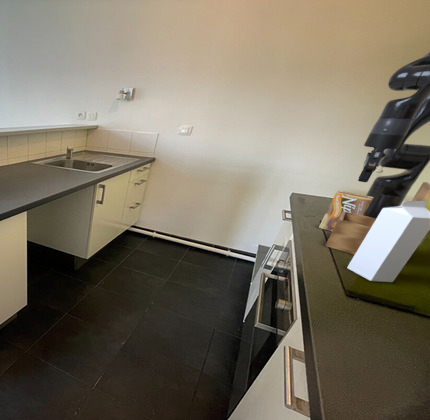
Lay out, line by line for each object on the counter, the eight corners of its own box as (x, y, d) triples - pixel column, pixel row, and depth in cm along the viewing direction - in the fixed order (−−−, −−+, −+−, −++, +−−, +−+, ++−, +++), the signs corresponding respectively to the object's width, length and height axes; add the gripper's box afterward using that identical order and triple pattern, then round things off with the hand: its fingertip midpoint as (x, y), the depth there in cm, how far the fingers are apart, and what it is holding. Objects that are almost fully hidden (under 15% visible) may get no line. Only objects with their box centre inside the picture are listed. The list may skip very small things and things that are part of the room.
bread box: (325, 246, 83) (339, 219, 79) (329, 234, 92) (342, 210, 88) (383, 263, 74) (402, 235, 70) (382, 249, 83) (399, 223, 79)
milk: (346, 268, 71) (388, 196, 63) (367, 269, 71) (411, 197, 63) (371, 281, 65) (420, 204, 57) (393, 282, 65) (446, 205, 57)
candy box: (352, 234, 93) (374, 196, 87) (350, 237, 91) (372, 198, 85) (320, 225, 100) (338, 190, 94) (317, 227, 97) (336, 191, 92)
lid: (429, 189, 66) (466, 194, 62) (423, 181, 74) (455, 186, 70) (401, 233, 71) (433, 240, 67) (398, 221, 79) (426, 227, 75)
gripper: (408, 134, 74) (379, 185, 80) (404, 134, 83) (378, 180, 89) (370, 132, 80) (345, 180, 86) (370, 132, 88) (348, 175, 94)
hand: (362, 180), depth 87 cm, fingers open, 8 cm apart
